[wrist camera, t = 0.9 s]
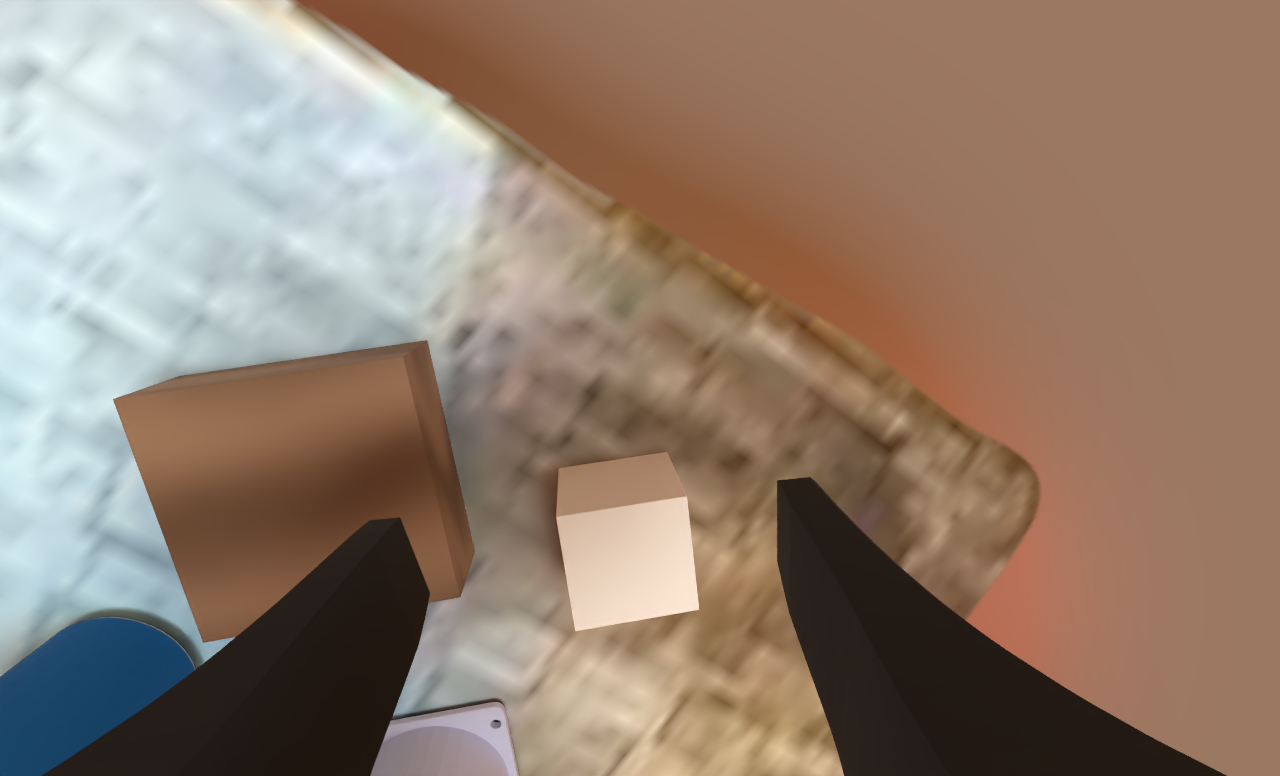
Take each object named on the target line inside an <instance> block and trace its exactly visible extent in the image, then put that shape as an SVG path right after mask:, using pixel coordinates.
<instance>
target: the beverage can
mask: <svg viewBox="0 0 1280 776" xmlns="http://www.w3.org/2000/svg"><path fill="white" fill-rule="evenodd" d="M195 670H196V669H195V666H194V664H193V662H192V660H191V658H190V656H189V655H188V654H187V652H186V651H185V649H184V648H183V647H182V646H181V645H180V644H179V643H178V642H177V641H176V640H174V639H173V638H172V637H171V636H170V635H168V634H166V633H165V632H163V631H162V630H160V629H158V628H156V627H154V626H151V625H149V624H146V623H144V622H140V621H136V620H133V619H127V618H119V617H100V618H93V619H88V620H84V621H81V622H78V623H75V624H73V625H71V626H69V627H67V628H65V629H63V630H61V631H60V632H59V633H57V634H56V635H55V636H53V637H52V638H51V639H49V640H48V641H47V642H46V643H44V644H43V645H42V646H40V647H39V648H38V649H36V650H35V651H34V652H32V653H31V654H30V655H29V656H27V657H26V658H25V659H23V660H22V661H21V662H19V663H18V664H17V665H15V666H14V667H13V668H11V669H10V670H9V671H8V672H6V673H5V674H4V675H2V676H1V677H0V776H41V775H43V774H44V773H46V772H48V771H49V770H51V769H52V768H54V767H56V766H57V765H59V764H60V763H62V762H64V761H65V760H67V759H68V758H70V757H71V756H73V755H74V754H76V753H77V752H79V751H80V750H82V749H83V748H85V747H86V746H88V745H89V744H91V743H92V742H94V741H95V740H97V739H98V738H100V737H101V736H103V735H104V734H106V733H107V732H109V731H110V730H112V729H113V728H115V727H116V726H118V725H119V724H121V723H122V722H124V721H125V720H127V719H128V718H130V717H131V716H133V715H134V714H136V713H137V712H139V711H140V710H141V709H143V708H144V707H146V706H147V705H149V704H150V703H151V702H153V701H154V700H156V699H157V698H158V697H160V696H161V695H162V694H164V693H165V692H166V691H168V690H169V689H170V688H172V687H173V686H174V685H176V684H177V683H179V682H180V681H181V680H183V679H184V678H185V677H187V676H188V675H189V674H191V673H192V672H193V671H195Z"/></svg>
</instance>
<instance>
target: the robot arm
mask: <svg viewBox="0 0 1280 776" xmlns="http://www.w3.org/2000/svg"><path fill="white" fill-rule="evenodd" d="M777 562H778V566H779V571H780V575H781V580H782V584H783V588H784V593H785V597H786V601H787V605H788V609H789V613H790V616H791V619H792V622H793V625H794V627H795V630H796V633H797V636H798V639H799V642H800V645H801V647H802V650H803V653H804V656H805V659H806V661H807V664H808V667H809V670H810V673H811V676H812V678H813V681H814V684H815V687H816V690H817V692H818V695H819V698H820V701H821V704H822V706H823V709H824V712H825V715H826V718H827V720H828V723H829V726H830V729H831V732H832V735H833V738H834V741H835V745H836V748H837V751H838V754H839V757H840V761H841V765H842V769H843V773H844V776H1226V775H1224V774H1222V773H1220V772H1218V771H1216V770H1214V769H1213V768H1210V767H1209V766H1206V765H1204V764H1203V763H1201V762H1199V761H1197V760H1195V759H1193V758H1191V757H1189V756H1187V755H1185V754H1183V753H1181V752H1179V751H1177V750H1175V749H1173V748H1171V747H1169V746H1167V745H1165V744H1163V743H1161V742H1159V741H1157V740H1155V739H1154V738H1152V737H1150V736H1148V735H1146V734H1144V733H1143V732H1141V731H1139V730H1137V729H1135V728H1134V727H1132V726H1130V725H1129V724H1126V723H1125V722H1123V721H1121V720H1119V719H1118V718H1116V717H1114V716H1113V715H1111V714H1109V713H1107V712H1106V711H1104V710H1102V709H1100V708H1098V707H1097V706H1095V705H1093V704H1091V703H1089V702H1088V701H1086V700H1084V699H1083V698H1081V697H1080V696H1078V695H1076V694H1075V693H1073V692H1071V691H1070V690H1068V689H1066V688H1065V687H1063V686H1061V685H1060V684H1059V683H1057V682H1055V681H1054V680H1052V679H1051V678H1049V677H1047V676H1046V675H1044V674H1043V673H1041V672H1040V671H1038V670H1036V669H1035V668H1033V667H1032V666H1030V665H1028V664H1027V663H1026V662H1024V661H1022V660H1021V659H1019V658H1018V657H1016V656H1015V655H1013V654H1012V653H1010V652H1009V651H1007V650H1005V649H1004V648H1003V647H1001V646H1000V645H998V644H997V643H995V642H994V641H993V640H991V639H990V638H988V637H987V636H985V635H984V634H983V633H981V632H980V631H979V630H977V629H976V628H975V627H973V626H972V625H971V624H969V623H968V622H967V621H965V620H964V619H963V618H961V617H960V616H959V615H957V614H956V613H955V612H953V611H952V610H951V609H950V608H948V607H947V606H946V605H945V604H943V603H942V602H941V601H940V600H938V599H937V598H936V597H935V596H934V595H932V594H931V593H930V592H929V591H928V590H926V589H925V588H924V587H923V586H922V585H920V584H919V583H918V582H917V581H916V580H915V579H913V578H912V577H911V576H910V575H909V574H908V573H906V572H905V571H904V570H903V569H902V568H901V567H900V566H899V565H898V564H896V563H895V562H894V561H893V560H892V559H891V558H890V557H889V556H888V555H887V554H886V553H885V552H884V551H883V550H881V549H880V548H879V547H878V546H877V545H876V544H875V543H874V542H873V541H872V540H871V539H870V538H869V537H868V536H867V535H866V534H865V533H864V532H863V531H862V530H861V529H860V528H859V527H858V526H857V525H856V524H855V523H854V522H853V521H852V520H851V519H850V518H849V517H848V516H847V515H846V514H845V513H844V512H843V511H842V510H841V509H840V508H839V507H838V506H837V505H836V503H835V502H834V501H833V500H832V499H831V498H830V497H829V496H828V495H827V494H826V493H825V491H824V490H823V489H822V488H821V487H820V486H819V485H818V484H817V483H816V482H815V481H814V480H813V479H812V478H810V477H808V478H798V479H788V480H777ZM429 597H430V591H429V589H428V586H427V584H426V581H425V579H424V576H423V574H422V571H421V569H420V566H419V564H418V561H417V559H416V556H415V553H414V551H413V548H412V546H411V543H410V541H409V538H408V536H407V533H406V531H405V528H404V526H403V523H402V521H401V518H400V517H398V518H388V519H377V520H369V521H368V522H367V523H365V524H364V525H363V526H362V527H360V528H359V529H358V530H357V531H356V532H355V533H353V534H352V535H351V536H350V537H349V538H348V539H347V540H345V541H344V542H343V543H342V544H341V545H340V546H339V547H338V548H337V549H336V550H334V551H333V552H332V553H331V554H330V555H329V556H328V557H327V558H326V559H325V560H323V561H322V562H321V563H320V564H319V565H318V566H317V567H316V568H315V569H314V570H312V571H311V572H310V573H309V574H308V575H307V576H306V577H305V578H304V579H302V580H301V581H300V582H299V583H298V584H297V585H296V586H295V587H294V588H292V589H291V590H290V591H289V592H288V593H287V594H286V595H285V596H284V597H282V598H281V599H280V600H279V601H278V602H277V603H276V604H275V605H273V606H272V607H271V608H270V609H269V610H268V611H266V612H265V613H264V614H263V615H262V616H260V617H259V618H258V619H257V620H256V621H254V622H253V623H252V624H251V625H250V626H249V627H247V628H246V629H245V630H244V631H243V632H241V633H240V634H239V635H238V636H237V637H235V638H234V639H233V640H232V641H231V642H230V643H228V644H227V645H226V646H225V647H224V648H222V649H221V650H220V651H219V652H217V653H216V654H215V655H214V656H212V657H211V658H210V659H209V660H207V661H206V662H205V663H204V664H202V665H201V666H200V667H198V668H197V669H196V670H195V671H193V672H192V673H191V674H189V675H188V676H187V677H185V678H184V679H183V680H181V681H180V682H179V683H177V684H176V685H174V686H173V687H172V688H170V689H169V690H168V691H166V692H165V693H164V694H162V695H161V696H160V697H158V698H157V699H156V700H154V701H153V702H151V703H150V704H149V705H147V706H146V707H144V708H143V709H141V710H140V711H139V712H137V713H136V714H134V715H133V716H131V717H130V718H128V719H127V720H125V721H124V722H122V723H121V724H119V725H118V726H116V727H115V728H113V729H112V730H110V731H109V732H107V733H106V734H104V735H103V736H101V737H100V738H98V739H97V740H95V741H94V742H92V743H91V744H89V745H88V746H86V747H85V748H83V749H82V750H80V751H79V752H77V753H76V754H74V755H73V756H71V757H70V758H68V759H67V760H65V761H64V762H62V763H60V764H59V765H57V766H56V767H54V768H52V769H51V770H49V771H48V772H46V773H44V774H43V775H41V776H519V772H518V767H517V762H516V758H515V753H514V748H513V744H512V739H511V734H510V730H509V725H508V720H507V715H506V711H505V707H504V705H502V704H501V703H499V702H491V703H485V704H480V705H474V706H469V707H463V708H458V709H452V710H447V711H441V712H436V713H430V714H425V715H419V716H413V717H408V718H402V719H397V720H391V719H392V716H393V713H394V711H395V708H396V705H397V703H398V700H399V697H400V695H401V692H402V689H403V686H404V684H405V681H406V678H407V676H408V673H409V670H410V667H411V665H412V662H413V659H414V656H415V653H416V650H417V648H418V645H419V641H420V637H421V633H422V629H423V625H424V620H425V616H426V611H427V606H428V601H429ZM493 720H499V721H500V722H493Z"/></svg>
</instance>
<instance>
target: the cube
mask: <svg viewBox="0 0 1280 776" xmlns="http://www.w3.org/2000/svg"><path fill="white" fill-rule="evenodd" d="M556 519H557V525H558V531H559V537H560V543H561V549H562V555H563V560H564V566H565V572H566V578H567V584H568V590H569V596H570V602H571V608H572V614H573V620H574V625H575V631H579V630H585V629H591V628H596V627H602V626H608V625H613V624H619V623H625V622H631V621H636V620H642V619H648V618H654V617H659V616H665V615H671V614H677V613H682V612H688V611H694V610H699V605H698V596H697V587H696V577H695V568H694V558H693V549H692V540H691V530H690V521H689V512H688V502H687V495H686V493H685V491H684V489H683V486H682V484H681V482H680V480H679V478H678V475H677V473H676V471H675V469H674V466H673V464H672V462H671V460H670V458H669V455H668V453H667V452H662V453H656V454H649V455H643V456H636V457H629V458H623V459H616V460H610V461H603V462H597V463H590V464H583V465H577V466H570V467H564V468H559V475H558V493H557V510H556Z"/></svg>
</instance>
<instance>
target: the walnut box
mask: <svg viewBox="0 0 1280 776" xmlns="http://www.w3.org/2000/svg"><path fill="white" fill-rule="evenodd" d="M113 401H114V403H115V406H116V409H117V411H118V414H119V417H120V420H121V422H122V425H123V428H124V430H125V433H126V436H127V438H128V441H129V444H130V447H131V449H132V452H133V455H134V457H135V460H136V463H137V465H138V468H139V471H140V473H141V476H142V479H143V482H144V484H145V487H146V490H147V492H148V495H149V498H150V500H151V503H152V506H153V509H154V511H155V514H156V517H157V519H158V522H159V525H160V527H161V530H162V533H163V535H164V538H165V541H166V544H167V546H168V549H169V552H170V554H171V557H172V560H173V562H174V565H175V568H176V571H177V573H178V576H179V579H180V581H181V584H182V587H183V589H184V592H185V595H186V597H187V600H188V603H189V606H190V608H191V611H192V614H193V616H194V619H195V622H196V624H197V627H198V630H199V633H200V635H201V638H202V641H203V643H204V642H209V641H215V640H221V639H226V638H232V637H237V636H238V635H239V634H240V633H241V632H243V631H244V630H245V629H246V628H247V627H249V626H250V625H251V624H252V623H253V622H254V621H256V620H257V619H258V618H259V617H260V616H262V615H263V614H264V613H265V612H266V611H268V610H269V609H270V608H271V607H272V606H273V605H275V604H276V603H277V602H278V601H279V600H280V599H281V598H282V597H284V596H285V595H286V594H287V593H288V592H289V591H290V590H291V589H292V588H294V587H295V586H296V585H297V584H298V583H299V582H300V581H301V580H302V579H304V578H305V577H306V576H307V575H308V574H309V573H310V572H311V571H312V570H314V569H315V568H316V567H317V566H318V565H319V564H320V563H321V562H322V561H323V560H325V559H326V558H327V557H328V556H329V555H330V554H331V553H332V552H333V551H334V550H336V549H337V548H338V547H339V546H340V545H341V544H342V543H343V542H344V541H345V540H347V539H348V538H349V537H350V536H351V535H352V534H353V533H355V532H356V531H357V530H358V529H359V528H360V527H362V526H363V525H364V524H365V523H367V522H368V521H369V520H377V519H388V518H398V517H400V518H401V521H402V523H403V526H404V528H405V531H406V533H407V536H408V538H409V541H410V543H411V546H412V548H413V551H414V553H415V556H416V559H417V561H418V564H419V566H420V569H421V571H422V574H423V576H424V579H425V581H426V584H427V586H428V589H429V591H430V597H429V601H428V603H430V602H436V601H441V600H447V599H453V598H458V597H460V596H461V593H462V590H463V587H464V584H465V580H466V577H467V574H468V571H469V568H470V565H471V562H472V558H473V555H474V552H475V550H474V546H473V542H472V537H471V533H470V528H469V524H468V519H467V515H466V510H465V506H464V502H463V497H462V493H461V488H460V484H459V479H458V475H457V471H456V466H455V462H454V457H453V453H452V448H451V444H450V439H449V435H448V431H447V426H446V422H445V417H444V413H443V408H442V404H441V399H440V395H439V391H438V386H437V382H436V377H435V373H434V368H433V364H432V359H431V355H430V351H429V346H428V342H427V341H420V342H413V343H406V344H399V345H392V346H385V347H378V348H372V349H365V350H358V351H351V352H344V353H337V354H330V355H323V356H316V357H310V358H303V359H296V360H289V361H282V362H275V363H268V364H261V365H254V366H247V367H241V368H234V369H227V370H220V371H213V372H206V373H199V374H192V375H185V376H179V377H176V378H173V379H170V380H168V381H165V382H162V383H159V384H156V385H153V386H150V387H147V388H144V389H141V390H139V391H136V392H133V393H130V394H127V395H124V396H121V397H118V398H115V399H113Z"/></svg>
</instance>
